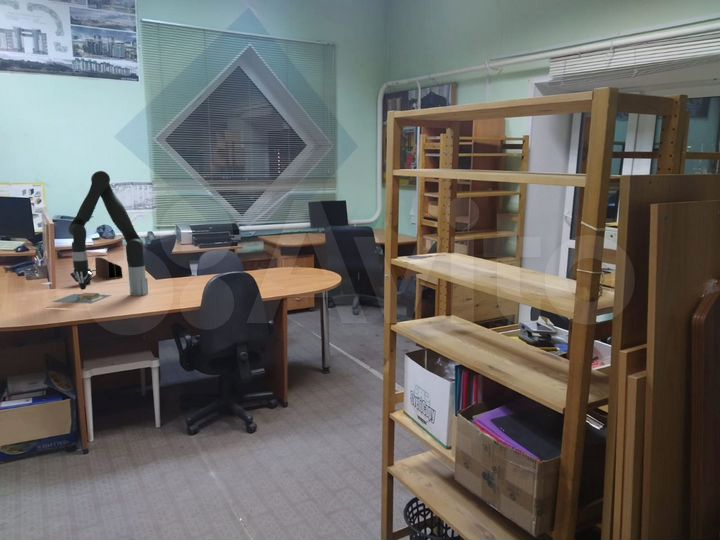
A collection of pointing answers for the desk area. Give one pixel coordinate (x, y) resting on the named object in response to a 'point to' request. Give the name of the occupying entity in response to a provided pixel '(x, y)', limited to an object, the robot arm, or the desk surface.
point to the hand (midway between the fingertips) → (83, 289)
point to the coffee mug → (91, 278)
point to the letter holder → (107, 269)
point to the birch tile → (88, 296)
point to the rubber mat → (73, 299)
